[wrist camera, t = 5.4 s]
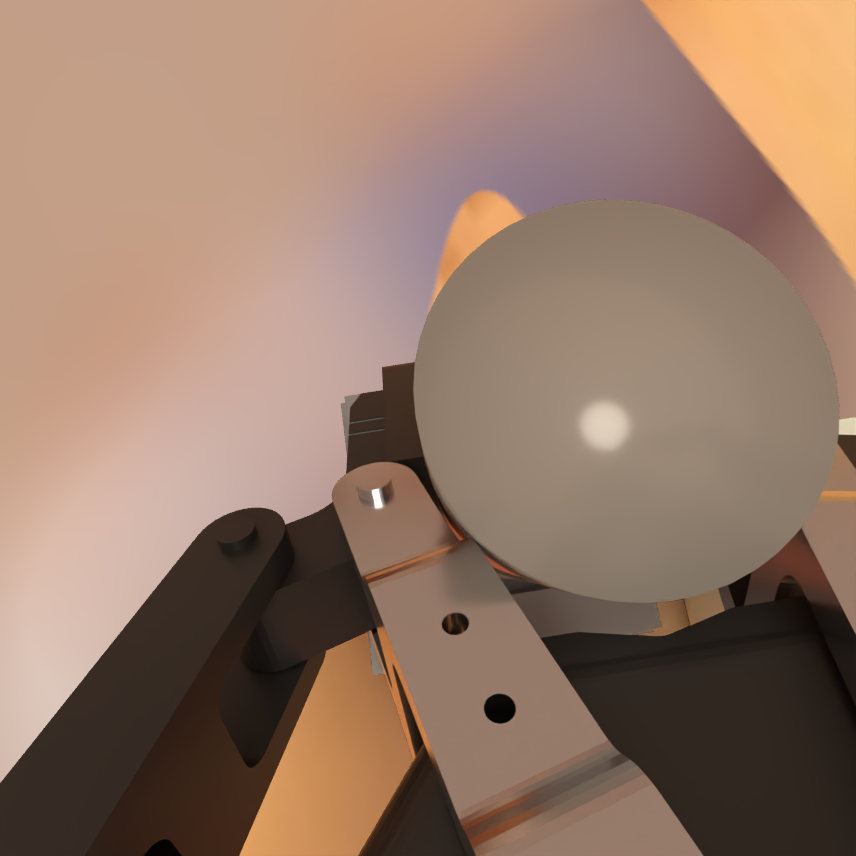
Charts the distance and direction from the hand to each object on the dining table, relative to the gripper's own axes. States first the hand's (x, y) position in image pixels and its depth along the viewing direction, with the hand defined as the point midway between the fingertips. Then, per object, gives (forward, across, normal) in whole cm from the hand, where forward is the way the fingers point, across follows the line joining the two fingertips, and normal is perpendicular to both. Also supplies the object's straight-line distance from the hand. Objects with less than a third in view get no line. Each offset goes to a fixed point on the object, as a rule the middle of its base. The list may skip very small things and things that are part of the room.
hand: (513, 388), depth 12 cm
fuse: (+3, 0, +5) cm, 6 cm away
